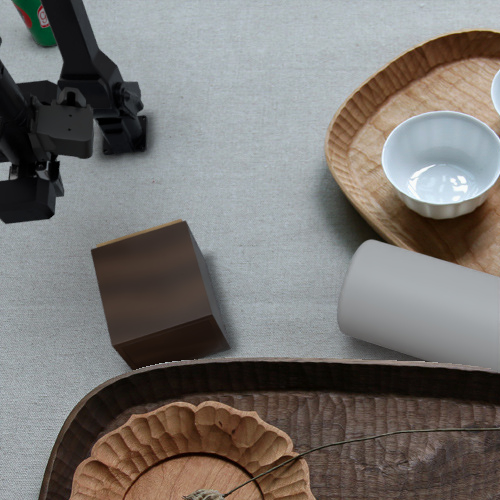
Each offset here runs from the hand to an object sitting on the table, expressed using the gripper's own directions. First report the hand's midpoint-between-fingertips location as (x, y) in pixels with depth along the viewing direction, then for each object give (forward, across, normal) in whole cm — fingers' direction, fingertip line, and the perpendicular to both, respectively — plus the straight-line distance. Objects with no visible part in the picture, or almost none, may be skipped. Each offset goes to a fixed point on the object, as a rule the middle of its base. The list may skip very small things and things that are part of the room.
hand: (60, 194), depth 102 cm
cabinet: (+13, -12, -10) cm, 21 cm away
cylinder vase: (+7, -14, -35) cm, 39 cm away
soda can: (+13, +42, +10) cm, 45 cm away
